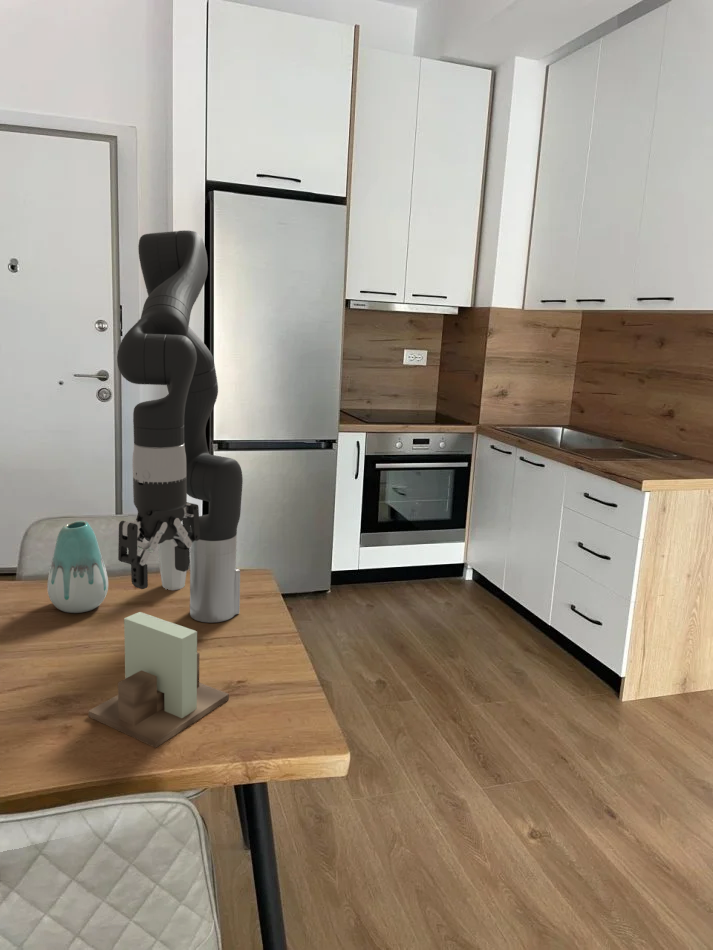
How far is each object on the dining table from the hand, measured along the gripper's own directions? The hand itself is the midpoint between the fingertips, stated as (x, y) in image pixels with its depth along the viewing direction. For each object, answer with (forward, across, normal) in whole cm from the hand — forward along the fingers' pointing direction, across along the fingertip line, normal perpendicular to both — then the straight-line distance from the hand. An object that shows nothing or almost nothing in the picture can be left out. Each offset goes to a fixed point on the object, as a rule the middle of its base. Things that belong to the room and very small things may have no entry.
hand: (161, 578), depth 107 cm
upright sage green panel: (+21, 0, 0) cm, 21 cm away
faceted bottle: (+22, -38, -34) cm, 56 cm away
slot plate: (+22, 0, 0) cm, 22 cm away
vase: (+22, -18, -41) cm, 50 cm away
